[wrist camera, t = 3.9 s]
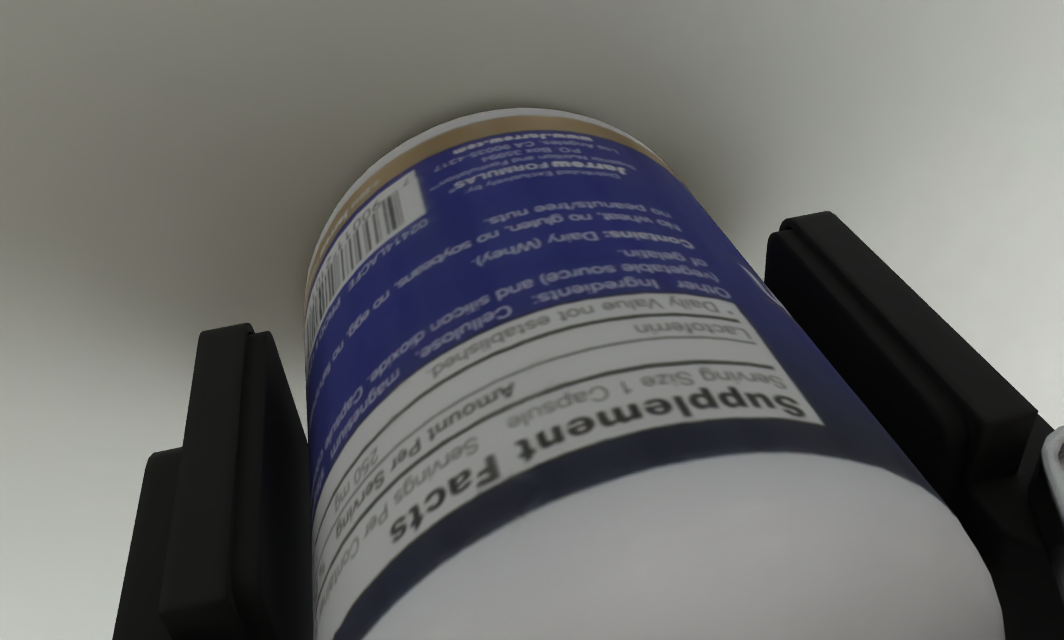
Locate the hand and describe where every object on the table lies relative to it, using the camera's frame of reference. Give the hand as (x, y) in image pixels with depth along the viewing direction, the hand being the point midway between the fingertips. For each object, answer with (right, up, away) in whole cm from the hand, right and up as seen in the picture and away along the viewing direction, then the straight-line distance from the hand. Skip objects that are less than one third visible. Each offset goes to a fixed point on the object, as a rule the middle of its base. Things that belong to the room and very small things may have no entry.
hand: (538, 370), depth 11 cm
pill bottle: (0, +1, +2) cm, 2 cm away
